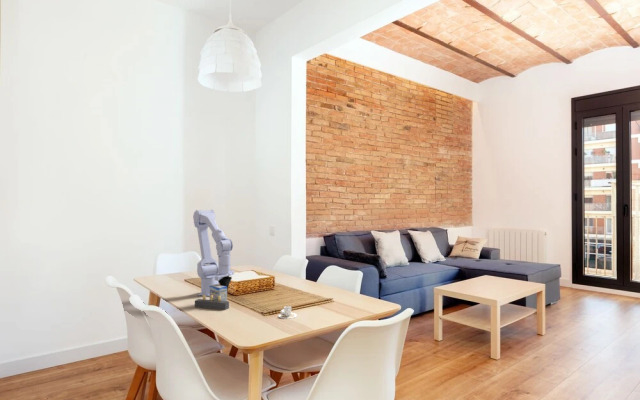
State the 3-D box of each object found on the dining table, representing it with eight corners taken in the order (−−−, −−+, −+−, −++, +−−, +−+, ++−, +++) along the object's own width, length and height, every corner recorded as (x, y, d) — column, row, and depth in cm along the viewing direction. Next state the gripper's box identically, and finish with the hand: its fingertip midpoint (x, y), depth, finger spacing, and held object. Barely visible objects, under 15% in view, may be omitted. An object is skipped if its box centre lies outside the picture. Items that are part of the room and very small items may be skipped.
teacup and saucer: (279, 313, 169) (279, 303, 169) (297, 313, 169) (297, 303, 169) (276, 319, 160) (276, 309, 160) (295, 319, 160) (295, 309, 160)
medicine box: (209, 303, 183) (208, 285, 183) (216, 301, 187) (216, 283, 187) (219, 306, 178) (219, 287, 178) (227, 304, 182) (227, 286, 182)
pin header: (198, 305, 181) (198, 293, 180) (229, 307, 176) (228, 295, 176) (194, 307, 178) (194, 295, 178) (225, 309, 173) (225, 297, 173)
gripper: (223, 267, 179) (224, 296, 180) (239, 262, 193) (239, 289, 194) (210, 266, 181) (210, 295, 182) (226, 261, 195) (226, 288, 196)
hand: (224, 292), depth 188 cm, fingers closed
